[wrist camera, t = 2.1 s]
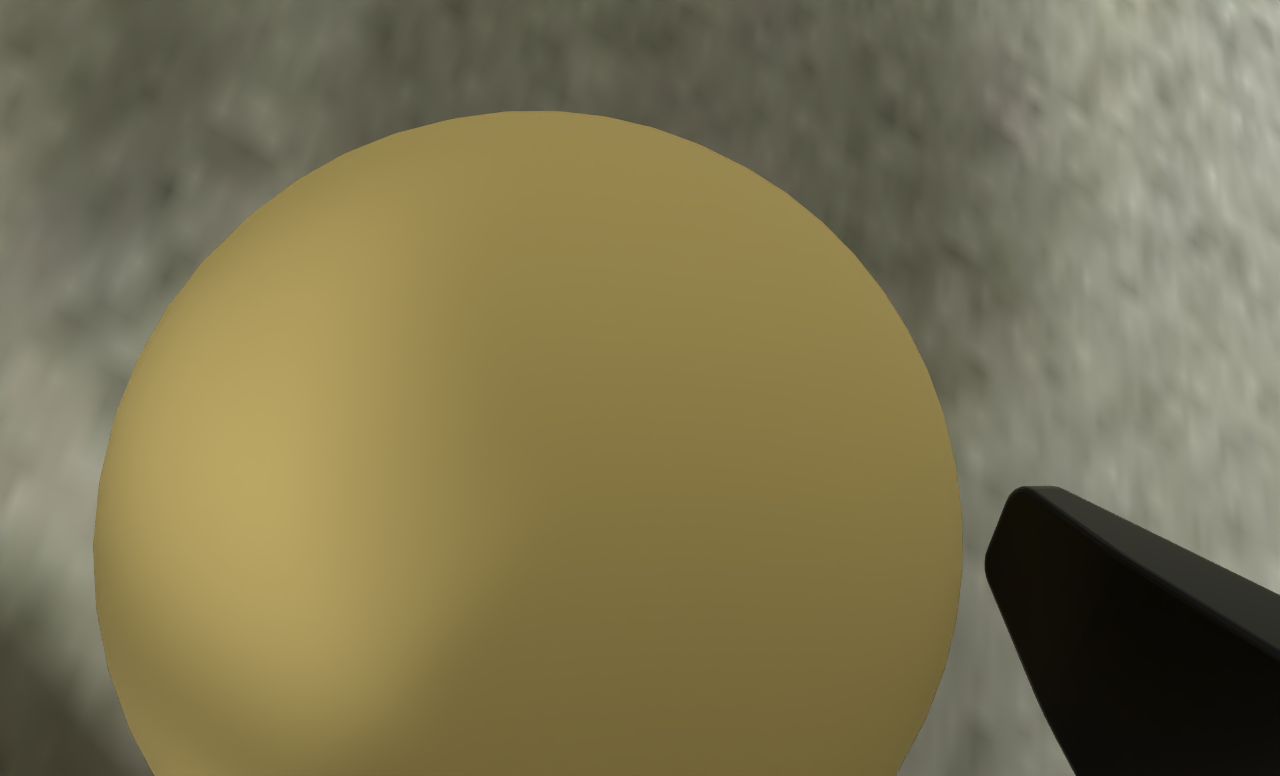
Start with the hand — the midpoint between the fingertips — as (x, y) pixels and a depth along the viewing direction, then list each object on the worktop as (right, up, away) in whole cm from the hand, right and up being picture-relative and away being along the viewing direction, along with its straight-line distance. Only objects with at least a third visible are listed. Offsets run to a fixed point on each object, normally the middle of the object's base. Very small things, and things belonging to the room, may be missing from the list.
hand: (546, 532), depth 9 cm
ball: (0, 0, 0) cm, 0 cm away
